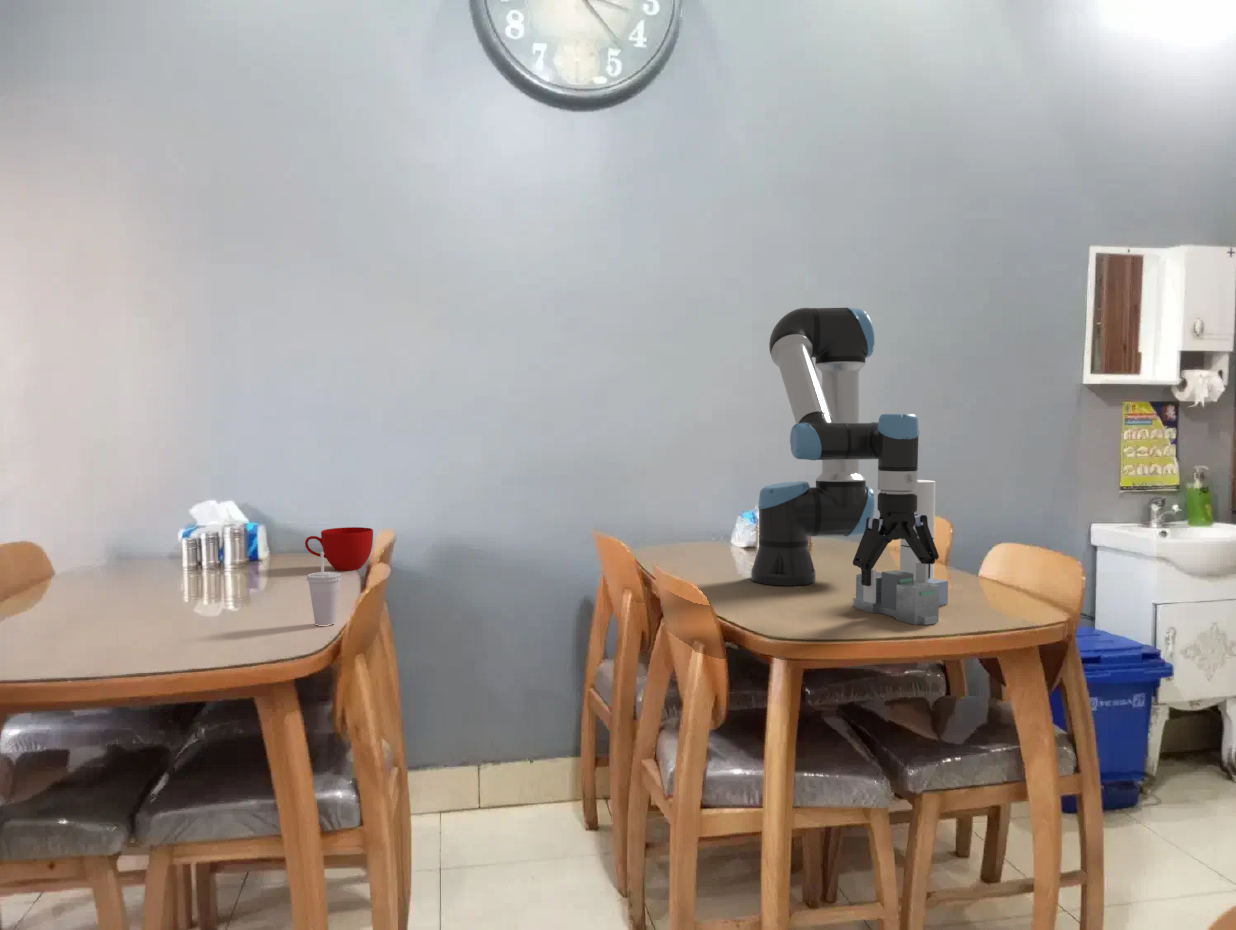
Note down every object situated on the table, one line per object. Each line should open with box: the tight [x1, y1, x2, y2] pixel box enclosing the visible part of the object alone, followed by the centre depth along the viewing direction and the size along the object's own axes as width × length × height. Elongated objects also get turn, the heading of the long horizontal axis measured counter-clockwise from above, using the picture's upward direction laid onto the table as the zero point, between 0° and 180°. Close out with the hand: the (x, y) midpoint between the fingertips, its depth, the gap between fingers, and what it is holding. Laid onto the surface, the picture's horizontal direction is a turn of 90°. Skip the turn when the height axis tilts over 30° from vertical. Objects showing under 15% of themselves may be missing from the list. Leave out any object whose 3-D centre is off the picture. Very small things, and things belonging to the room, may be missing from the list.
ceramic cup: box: [304, 526, 374, 572], centre depth 241 cm, size 13×17×10 cm
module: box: [881, 569, 913, 610], centre depth 185 cm, size 5×4×7 cm
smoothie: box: [306, 551, 342, 625], centre depth 179 cm, size 6×6×14 cm
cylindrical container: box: [899, 479, 936, 580], centre depth 205 cm, size 7×7×25 cm
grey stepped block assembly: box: [852, 571, 940, 626], centre depth 186 cm, size 20×6×7 cm, turn 27°
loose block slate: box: [913, 578, 949, 607], centre depth 196 cm, size 5×5×5 cm
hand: (896, 598), depth 185 cm, fingers open, 13 cm apart
